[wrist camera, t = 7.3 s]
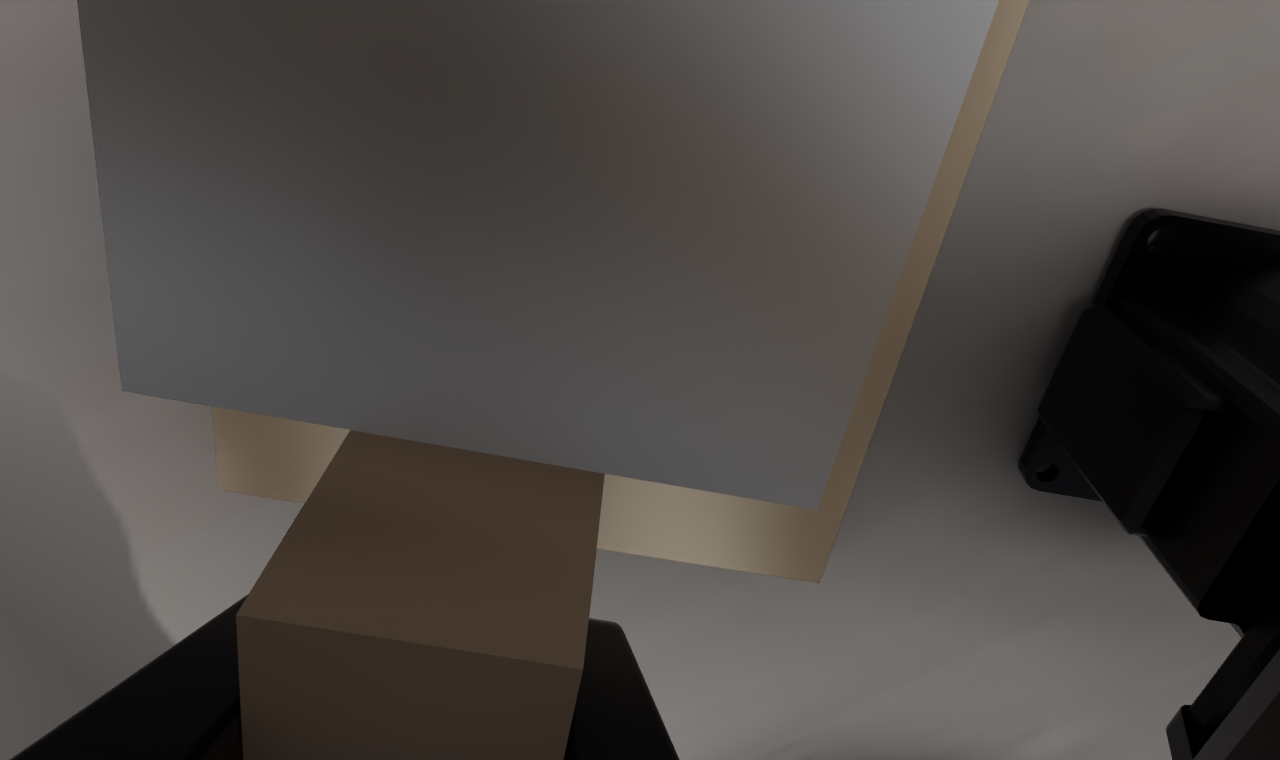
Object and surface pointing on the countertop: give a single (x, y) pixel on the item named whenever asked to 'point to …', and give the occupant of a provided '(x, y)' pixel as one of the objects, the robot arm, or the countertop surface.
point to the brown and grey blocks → (503, 301)
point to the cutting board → (671, 515)
